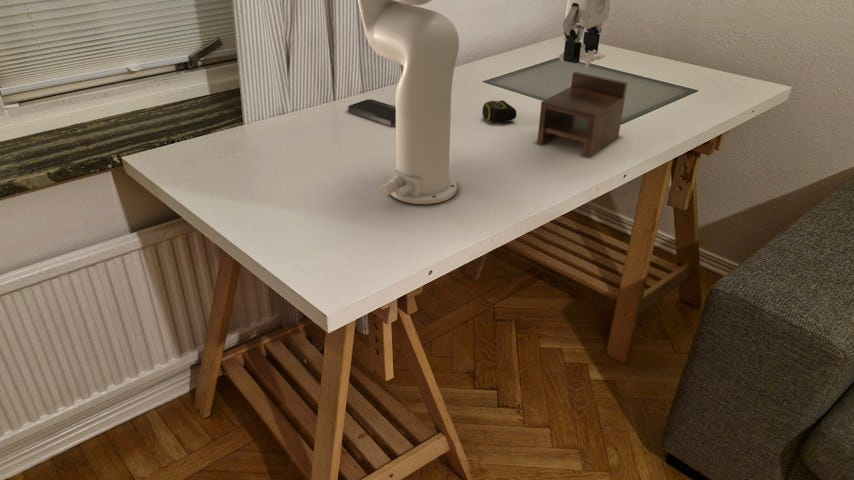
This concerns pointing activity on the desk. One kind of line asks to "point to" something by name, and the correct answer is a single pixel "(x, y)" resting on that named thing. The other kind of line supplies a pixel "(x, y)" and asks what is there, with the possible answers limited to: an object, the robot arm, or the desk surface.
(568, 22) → the robot arm
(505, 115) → the tape measure
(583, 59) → the pelvis model
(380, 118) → the phone
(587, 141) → the shelf
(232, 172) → the desk surface
